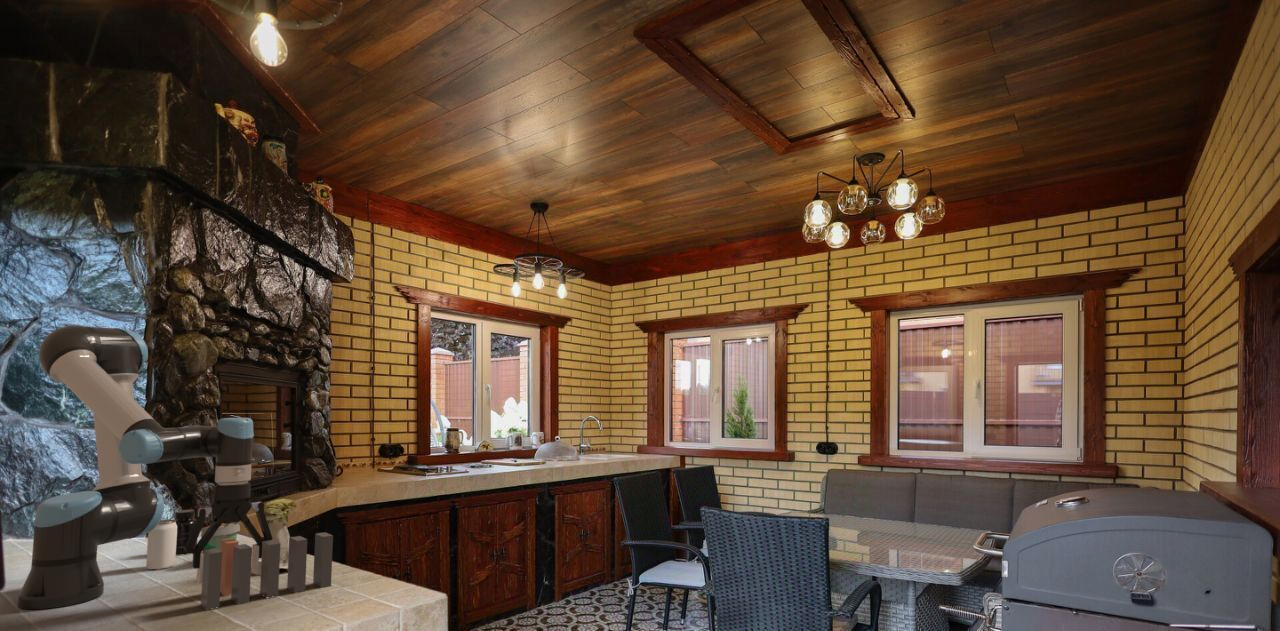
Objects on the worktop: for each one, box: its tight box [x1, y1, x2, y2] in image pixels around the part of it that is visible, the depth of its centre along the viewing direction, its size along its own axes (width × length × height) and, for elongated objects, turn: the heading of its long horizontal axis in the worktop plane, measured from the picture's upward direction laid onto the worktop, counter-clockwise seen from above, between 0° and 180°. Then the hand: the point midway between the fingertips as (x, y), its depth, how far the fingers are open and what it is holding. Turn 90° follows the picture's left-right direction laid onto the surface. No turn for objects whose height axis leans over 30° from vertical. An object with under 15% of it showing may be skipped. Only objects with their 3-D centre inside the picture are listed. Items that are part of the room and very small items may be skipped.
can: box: [145, 519, 177, 570], centre depth 188 cm, size 6×6×12 cm
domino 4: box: [259, 540, 280, 598], centre depth 163 cm, size 2×5×12 cm, turn 44°
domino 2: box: [220, 538, 239, 597], centre depth 165 cm, size 2×5×12 cm, turn 44°
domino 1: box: [200, 548, 222, 609], centre depth 154 cm, size 2×5×12 cm, turn 44°
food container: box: [200, 522, 241, 553], centre depth 194 cm, size 12×6×10 cm, turn 179°
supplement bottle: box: [174, 509, 198, 555], centre depth 204 cm, size 7×7×12 cm
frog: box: [251, 498, 297, 576], centre depth 186 cm, size 12×13×18 cm
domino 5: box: [286, 535, 308, 594], centre depth 167 cm, size 2×5×12 cm, turn 44°
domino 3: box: [230, 543, 252, 605], centre depth 158 cm, size 2×5×12 cm, turn 44°
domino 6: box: [312, 531, 334, 589], centre depth 171 cm, size 2×5×12 cm, turn 44°
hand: (227, 577), depth 164 cm, fingers open, 11 cm apart
